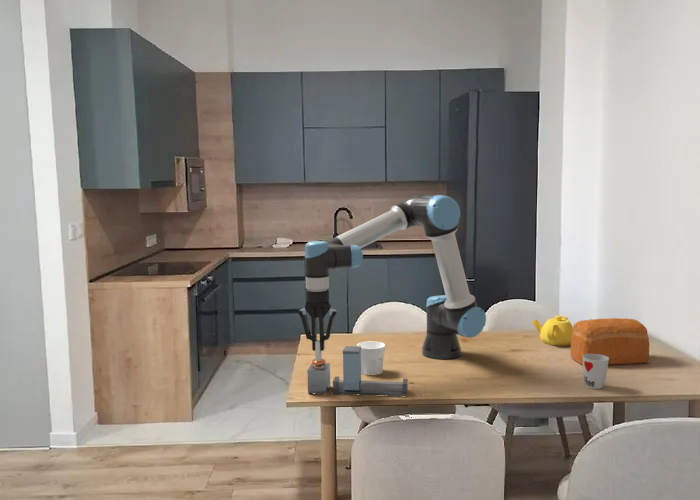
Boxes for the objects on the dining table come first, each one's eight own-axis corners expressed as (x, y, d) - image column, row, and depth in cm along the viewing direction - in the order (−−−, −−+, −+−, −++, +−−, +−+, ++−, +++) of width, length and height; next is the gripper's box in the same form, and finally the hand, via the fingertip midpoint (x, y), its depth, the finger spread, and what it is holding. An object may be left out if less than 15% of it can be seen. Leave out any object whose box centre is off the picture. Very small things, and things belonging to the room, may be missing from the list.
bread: (652, 364, 237) (654, 322, 235) (583, 367, 234) (584, 324, 232) (632, 353, 250) (634, 313, 248) (567, 356, 248) (568, 315, 246)
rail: (407, 389, 213) (407, 377, 212) (406, 397, 206) (406, 384, 205) (335, 387, 216) (335, 375, 215) (332, 394, 209) (332, 382, 209)
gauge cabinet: (330, 386, 217) (329, 363, 216) (326, 394, 209) (325, 370, 208) (312, 385, 217) (312, 362, 216) (307, 393, 210) (307, 370, 209)
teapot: (539, 333, 282) (540, 308, 281) (582, 339, 272) (583, 313, 270) (522, 343, 266) (523, 317, 265) (567, 350, 256) (568, 323, 254)
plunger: (326, 385, 215) (326, 358, 214) (324, 389, 211) (324, 362, 209) (313, 384, 215) (313, 358, 214) (311, 389, 211) (310, 362, 210)
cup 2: (577, 382, 217) (578, 354, 216) (600, 381, 218) (601, 353, 217) (588, 391, 209) (589, 361, 208) (612, 390, 210) (613, 360, 209)
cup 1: (357, 367, 237) (357, 341, 236) (384, 367, 236) (384, 341, 235) (356, 376, 227) (356, 348, 226) (385, 376, 227) (385, 348, 225)
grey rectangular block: (361, 384, 214) (361, 346, 212) (359, 390, 208) (358, 351, 206) (345, 383, 215) (345, 346, 213) (343, 390, 209) (342, 351, 207)
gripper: (339, 287, 212) (340, 357, 215) (300, 286, 213) (301, 356, 216) (335, 291, 204) (336, 364, 207) (295, 291, 206) (296, 362, 209)
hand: (318, 360), depth 212 cm, fingers closed
